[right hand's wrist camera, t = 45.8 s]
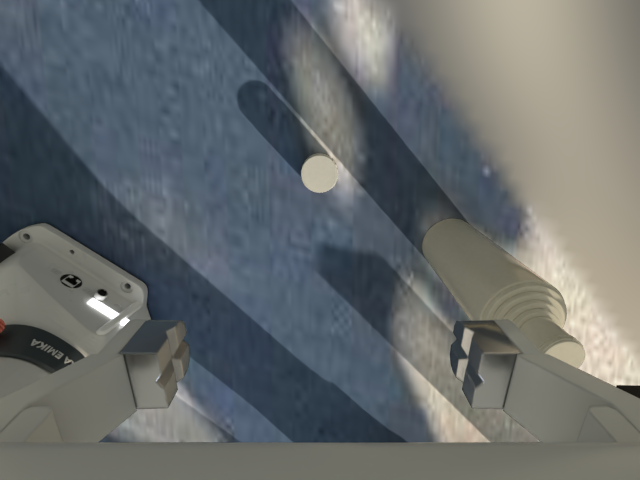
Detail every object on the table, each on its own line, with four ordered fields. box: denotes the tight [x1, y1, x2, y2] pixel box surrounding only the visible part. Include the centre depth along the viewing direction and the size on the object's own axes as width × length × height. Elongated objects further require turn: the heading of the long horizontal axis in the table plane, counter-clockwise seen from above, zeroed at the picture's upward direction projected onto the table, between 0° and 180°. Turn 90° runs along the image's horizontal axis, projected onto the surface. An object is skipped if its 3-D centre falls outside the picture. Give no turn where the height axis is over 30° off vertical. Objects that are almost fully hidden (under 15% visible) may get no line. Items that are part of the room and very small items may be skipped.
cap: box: [301, 153, 338, 192], centre depth 40 cm, size 4×4×2 cm
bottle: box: [422, 219, 585, 368], centre depth 34 cm, size 7×7×22 cm
